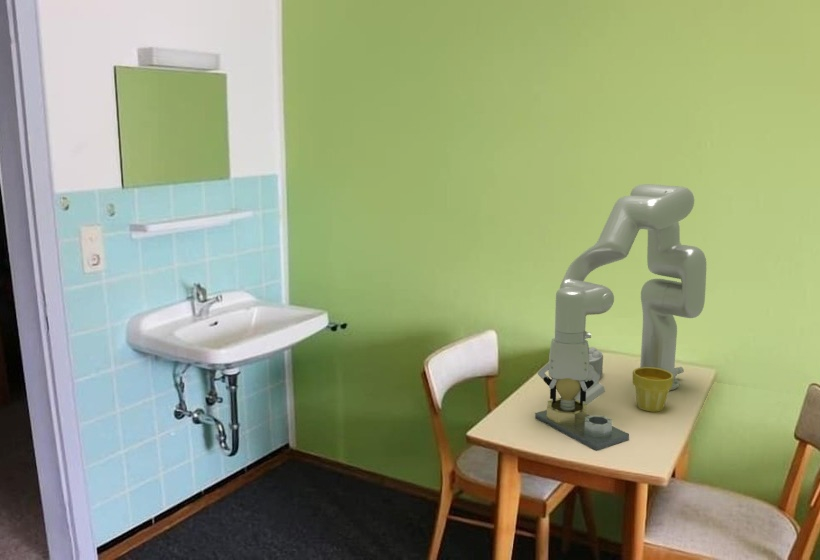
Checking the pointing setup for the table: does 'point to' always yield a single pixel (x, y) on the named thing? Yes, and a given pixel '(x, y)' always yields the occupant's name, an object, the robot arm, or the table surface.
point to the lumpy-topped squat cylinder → (596, 360)
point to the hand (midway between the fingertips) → (567, 401)
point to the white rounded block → (592, 391)
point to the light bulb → (567, 393)
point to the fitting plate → (582, 425)
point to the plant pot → (652, 387)
